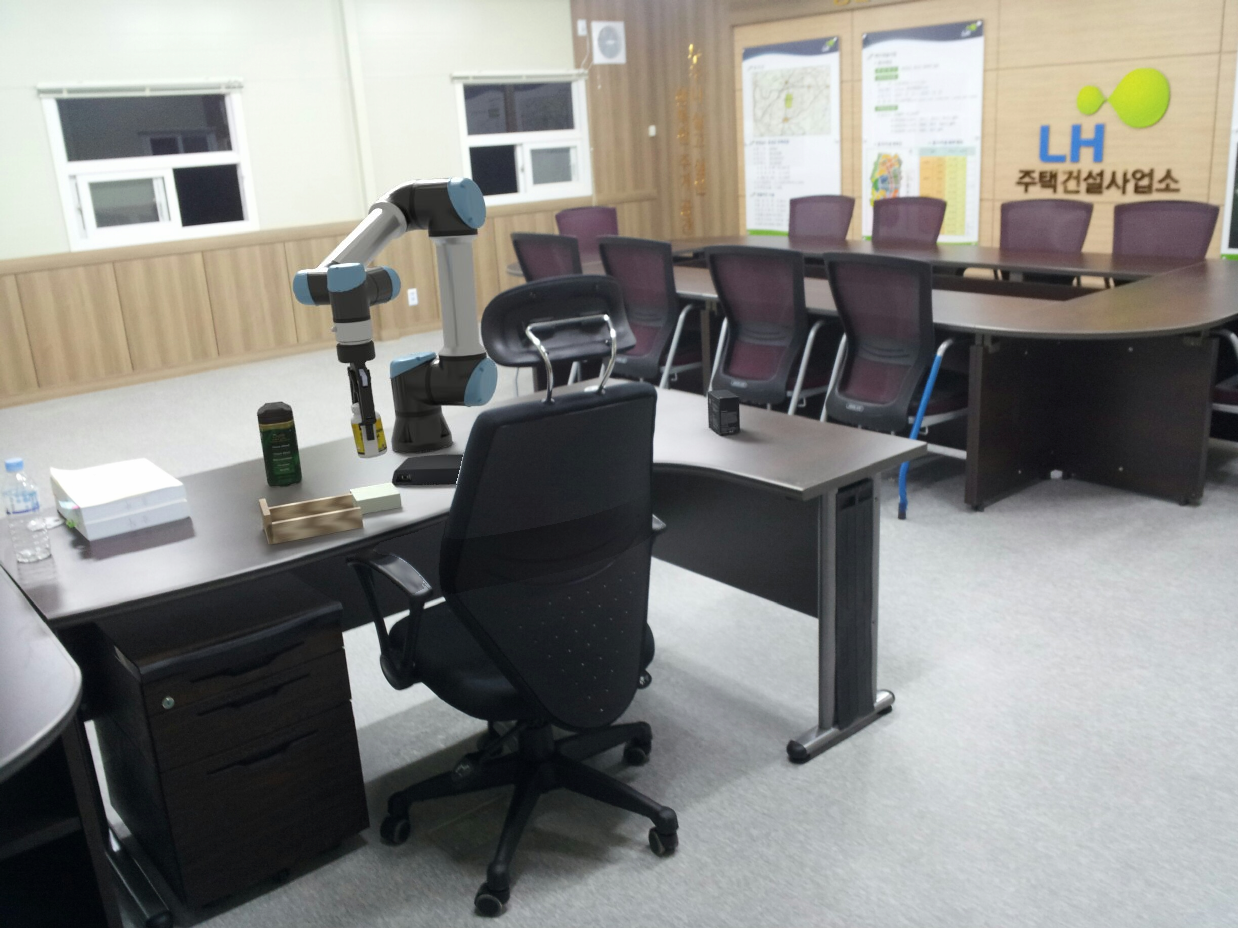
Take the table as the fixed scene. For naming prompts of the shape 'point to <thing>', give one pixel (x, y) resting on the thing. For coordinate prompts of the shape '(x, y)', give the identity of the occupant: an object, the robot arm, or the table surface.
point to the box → (723, 412)
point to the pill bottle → (358, 433)
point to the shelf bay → (310, 518)
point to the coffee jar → (279, 444)
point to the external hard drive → (428, 470)
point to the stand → (376, 498)
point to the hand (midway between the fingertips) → (368, 450)
